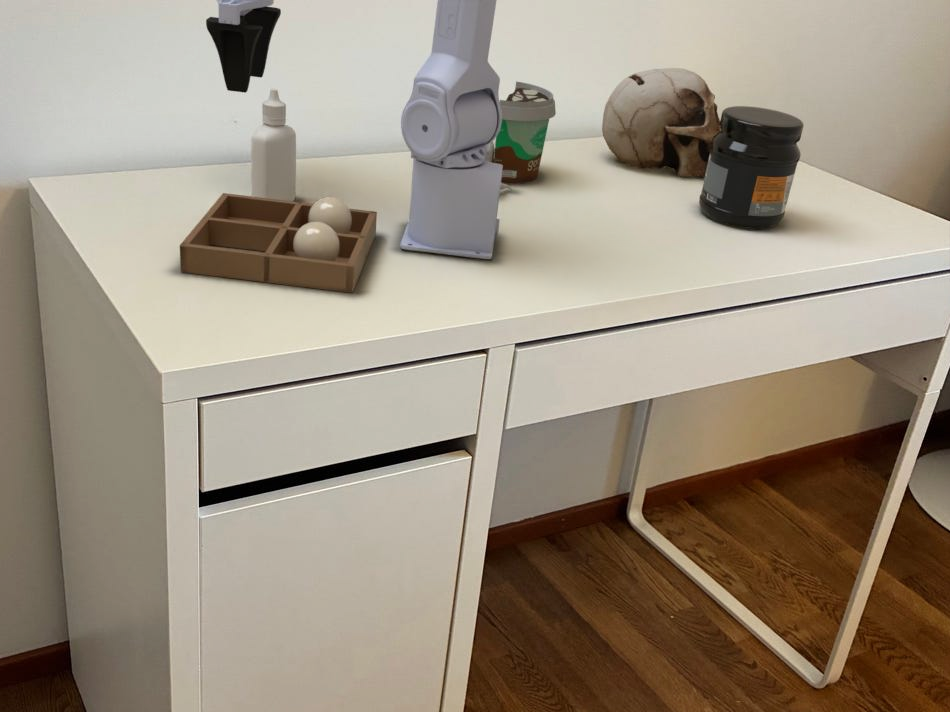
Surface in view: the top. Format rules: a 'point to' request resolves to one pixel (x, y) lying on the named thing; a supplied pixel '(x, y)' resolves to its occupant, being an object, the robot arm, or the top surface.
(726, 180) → the supplement container
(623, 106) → the coin bank
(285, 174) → the eye dropper bottle
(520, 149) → the food container
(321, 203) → the egg near left
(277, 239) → the wooden compartment tray
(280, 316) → the top surface
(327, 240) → the egg near right
